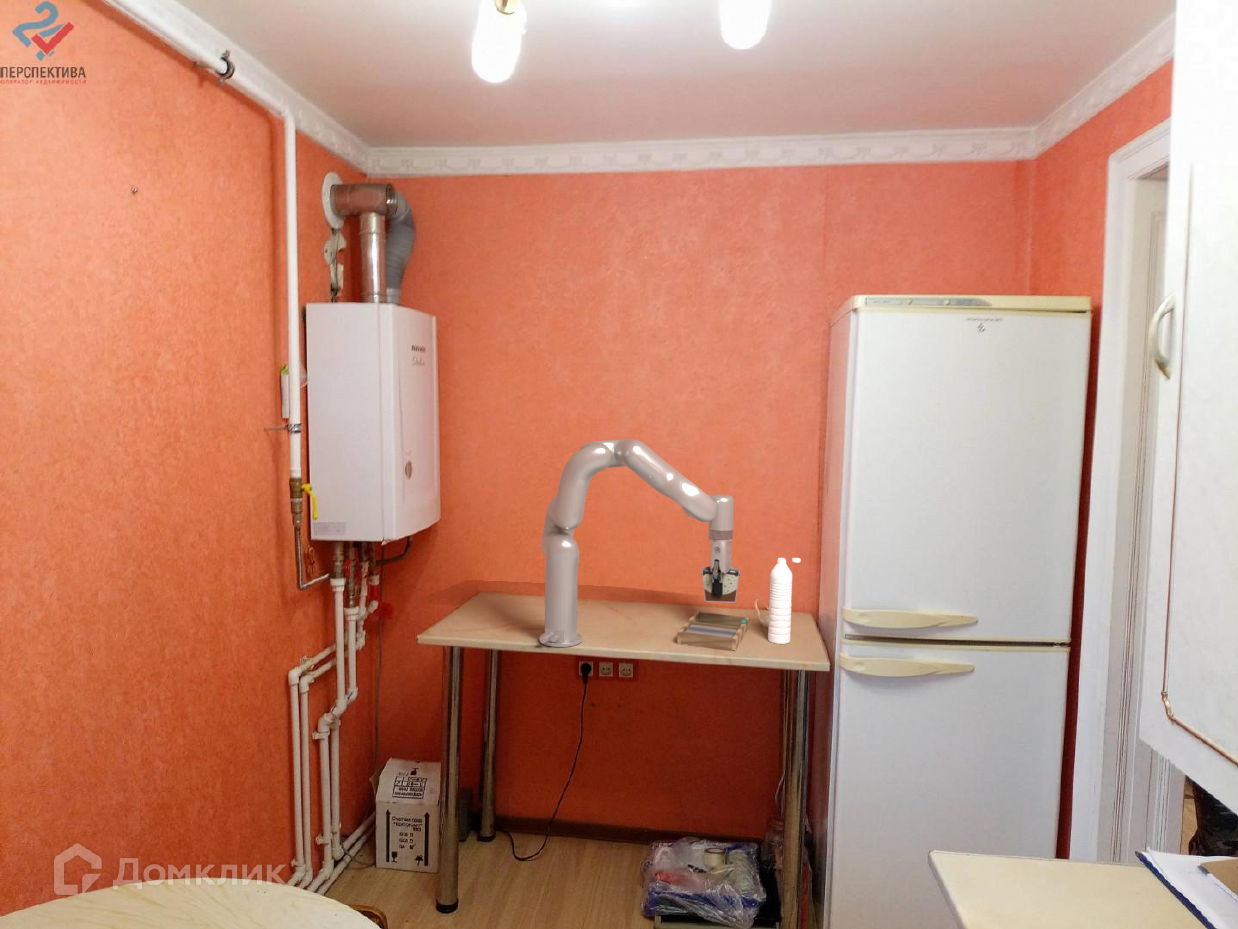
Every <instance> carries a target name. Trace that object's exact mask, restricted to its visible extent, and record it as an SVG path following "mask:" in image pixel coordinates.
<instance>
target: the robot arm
mask: <svg viewBox="0 0 1238 929" xmlns="http://www.w3.org/2000/svg"><path fill="white" fill-rule="evenodd" d="M621 467H626V468H628V469H629V470H630V471H632V472H633V473H634V474H635V475H637V476H638V477H639V478H640V479H642V480H643V481H644V482H645V483H646V484H648V485H649V486H650V487H651V488H652V489H653V490H655V491H656V492H658V493H660V494H661V495H664V496H665V497H667V498H669V499H670V500H673V502H675V503H677V504H678V505H679V506H681V508H682V511H683V513H684V514H685V515H686V516H687V517H689V518H691V519H693V520H695V521H698V522H701V523H708V535H707V536H708V541H711V543H710V564H709V565H710V570H711V572H712V573H713V579H712V595H716V596H722V595H723V583H722V575H723V573H724V574H726V573H727V572H728V571H729V570H730V569H731V567H733V565H732V542H733V541H734V518H735V517H734V516H735V515H734V514H735V513H734V512H735V511H734V510H735V508H734V506H735V499H734V497H733V496H732V495H730V494H713V495H709V494H707V493H706V492H705V491H704V490H702V489H701V488H699V487H698V486H697V485H696V484H695V483H693V482H692V481H691V480H689V479H688V478H687V477H685V476H684V475H683V474H682V473H681V472H680V471H678V470H677V469H676V468H674V467H673V466H671V464H669V463H668V462H667V461H666V460H664V459H663V458H662V457H661V456H660V455H659V454H657V453H656V452H655V451H654V450H652V449H651V448H650V447H649V446H648V445H647V444H645V443H644V442H643V441H641V440H639V439H633V438H623V439H622V438H621V439H609V440H608V439H607V440H594V441H587V442H585V443H583V444H582V445H581V446H580V447H579V449H578V451H577V452H575V454H573V455H572V456H571V457H570V458H569V460H568V461H567V462H566V463H565V465H564V467H563V469H562V472H561V475H560V479H559V483H558V487H557V492H556V496H554V497H553V498H552V499H551V500H550V502H549V503H548V505H547V509H546V512H545V518H544V519H545V520H544V523H543V528H542V529H543V531H542V536H541V549H542V552H543V554H544V556H545V572H544V575H545V576H544V632H543V633H541V635H540V636H539V640H538V641H539V642H540V643H541V644H542V645H545V646H547V647H555V648H565V647H574V646H577V645H579V644H580V643H582V642H583V634H581V633H579V632H578V602H579V601H578V599H579V598H578V596H579V594H578V589H579V586H578V583H579V565H580V558H581V557H580V555H581V554H580V548H579V544H578V543H577V540H575V538H574V535H575V530H576V528H578V527H580V525H581V524H582V521H583V519H584V515H585V514H584V513H585V506H586V501H587V496H588V490H589V486H590V483H591V481H592V479H593V477H594V476H595V475H597V474H598V473H600V472H602V471H605V470H607V468H608V469H609V468H610V469H611V468H621ZM718 571H721V572H718ZM719 575H720V577H719Z"/></svg>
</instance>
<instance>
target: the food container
mask: <svg viewBox="0 0 1238 929" xmlns="http://www.w3.org/2000/svg"><path fill="white" fill-rule="evenodd" d="M718 572H721V571H718ZM699 576H700V577H701V576H702V583H703V586H702V587H703V594H704V602H705V603H731V604H732V603H733V604H734V603H737V597H738V586H739V578H742V574H741V572H740V569H739V568H736V567H733V566H731V569H730V570H729V571H728V572H727V573H726V574H724V573H723V575H722V583H723V595H722V596H716V595H712V579H713V573H712V572H711V570H710V566H705V567H703V568H702V569H701V572H700V575H699ZM719 577H720V575H719Z"/></svg>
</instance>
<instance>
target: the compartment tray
mask: <svg viewBox="0 0 1238 929" xmlns="http://www.w3.org/2000/svg"><path fill="white" fill-rule="evenodd" d="M749 629H750V617H748V616H747V617H746V616H738V615H729V614H721V613H713V612H702V611H695V612H694V613H693V615H692V616H691V617H690V618H689V619H688V620H687V621H686V622H685V623H684V624H683V625H682V627H681V628H679V630H678V631H677V640H676V641H677V644H678V645H683V644H688V645H687V646H691V645H695V646H694V647H698V646H701V647H700V648H706V647H707V649H715V650H722V651H729V650H736V651H737V649H738V648H739V646H740V644H741V643H742V641H743V639H744V638H745V636H746V634H747V633H748V631H749ZM746 632H747V633H746ZM741 640H742V641H741ZM740 642H741V643H740ZM738 645H739V646H738ZM737 647H738V648H737Z"/></svg>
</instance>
